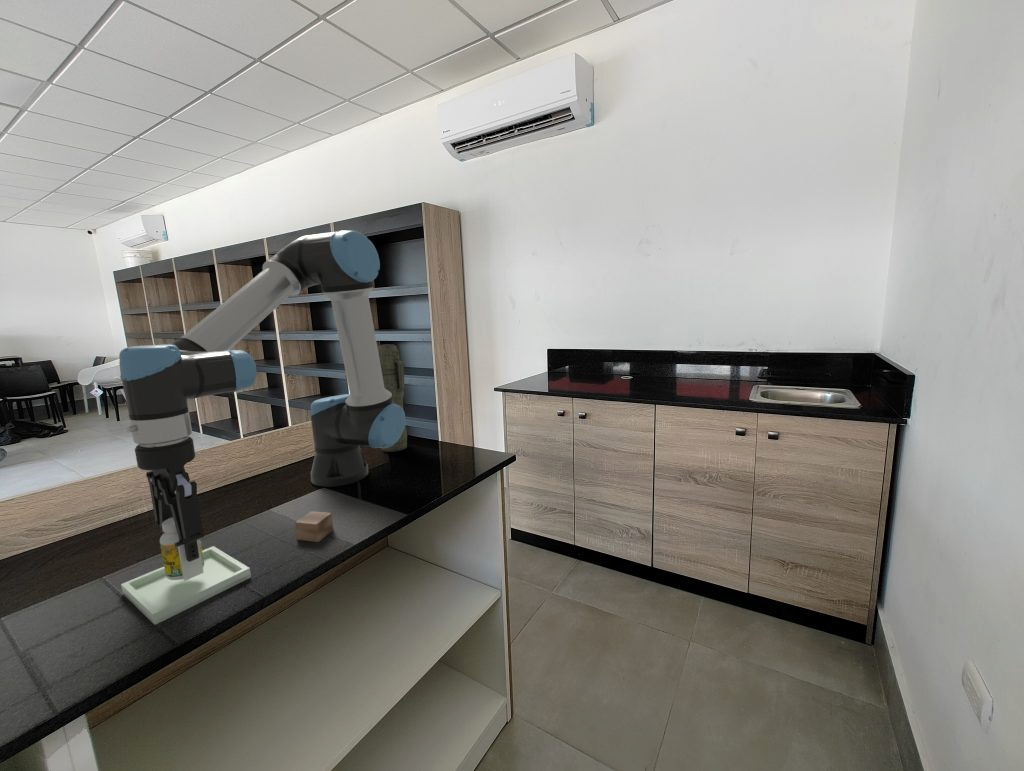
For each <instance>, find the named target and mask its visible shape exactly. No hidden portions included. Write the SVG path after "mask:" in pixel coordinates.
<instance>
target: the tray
mask: <svg viewBox="0 0 1024 771" xmlns="http://www.w3.org/2000/svg"><path fill="white" fill-rule="evenodd" d="M202 553H203V558H204V567H203V572H204V573H202V574H200V575H197V576H195V577H193V578H191V579H189V580H186V581H185V580H183V579H181V580H170V579H168V578H167V577H166V574H165V568H164V566H162V567H159V568H157V569H154V570H152V571H149V572H146V573H144V574H142V575H139V576H138V577H136V578H133V579H130V580H128V581H126V582H122V583H121V584H120V586H121V591H122V594H123V596H124V597H125V598H127V600H128V601H129V602H131V603H132V604H133V605H134V606H135V607H136V608H137V609H138V610H139V611H140V613H142V614H143V615H144V616H145V617H146V618H147V619H148V620H149V621H150V622H151V623H152V624H153V625H154V626H155V625H158V624H160V623H162V622H163V621H166V620H169V619H170V618H172V617H174V616H176V615H178V614H180V613H182V612H185V611H186V610H188V609H190V608H192V607H194V606H196V605H199V604H200V603H202V602H204V601H206V600H208V599H210V598H213V597H214V596H216V595H218V594H220V593H222V592H225V591H226V590H228V589H230V588H232V587H235V586H237V585H238V584H241V583H242V582H243V583H244V581H247V580H248V579H251V578H252V575H251V569H250V567H249V566H247V565H246V564H244V563H242V562H241V561H239V560H237V559H236V558H234V557H233V556H230V555H229V554H227V553H226V552H224V551H223V550H221V549H219V548H217V547H216V546H215V545H213V546H210V547H208V548H205V549H202Z"/></svg>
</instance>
